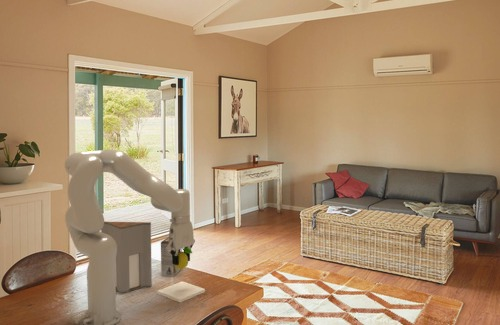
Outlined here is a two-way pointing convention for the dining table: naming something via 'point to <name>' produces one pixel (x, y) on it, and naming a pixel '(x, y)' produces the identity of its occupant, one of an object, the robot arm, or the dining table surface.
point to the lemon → (183, 258)
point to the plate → (181, 291)
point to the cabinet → (131, 254)
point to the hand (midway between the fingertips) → (181, 262)
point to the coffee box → (167, 261)
